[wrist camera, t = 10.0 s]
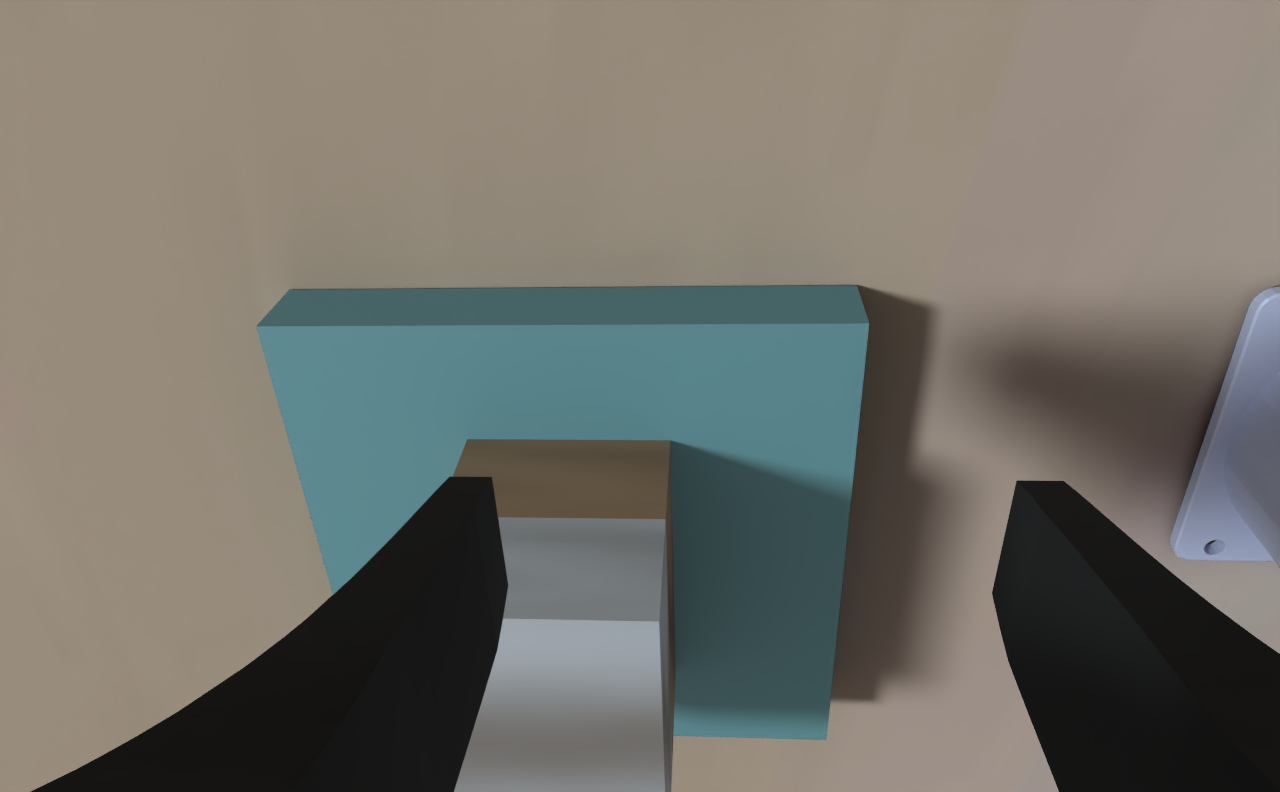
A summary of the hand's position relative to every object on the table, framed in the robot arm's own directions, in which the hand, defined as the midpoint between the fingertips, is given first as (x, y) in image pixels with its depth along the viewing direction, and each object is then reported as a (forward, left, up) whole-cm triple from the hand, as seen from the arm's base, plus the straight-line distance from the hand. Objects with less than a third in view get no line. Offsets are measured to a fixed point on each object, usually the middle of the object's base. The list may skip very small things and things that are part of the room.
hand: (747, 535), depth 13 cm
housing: (+4, +8, -8) cm, 12 cm away
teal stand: (+4, +8, -10) cm, 14 cm away
